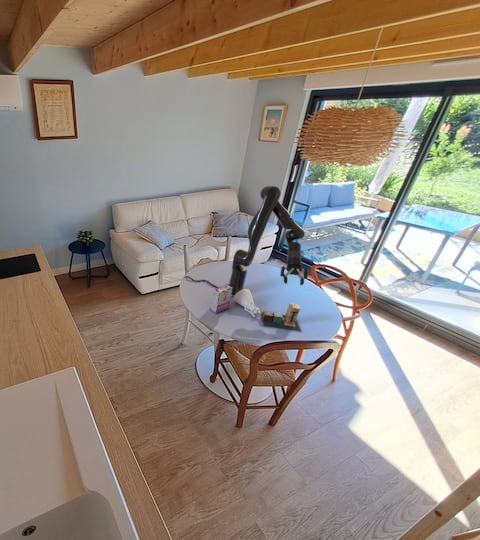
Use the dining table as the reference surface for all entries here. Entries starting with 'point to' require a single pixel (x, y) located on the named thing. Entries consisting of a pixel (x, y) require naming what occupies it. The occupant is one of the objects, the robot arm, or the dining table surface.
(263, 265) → the dining table surface
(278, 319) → the letter block
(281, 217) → the robot arm
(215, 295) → the candy bar box
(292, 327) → the word mat
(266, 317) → the letter block
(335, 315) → the dining table surface
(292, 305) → the tan rectangular block
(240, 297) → the rocket engine
